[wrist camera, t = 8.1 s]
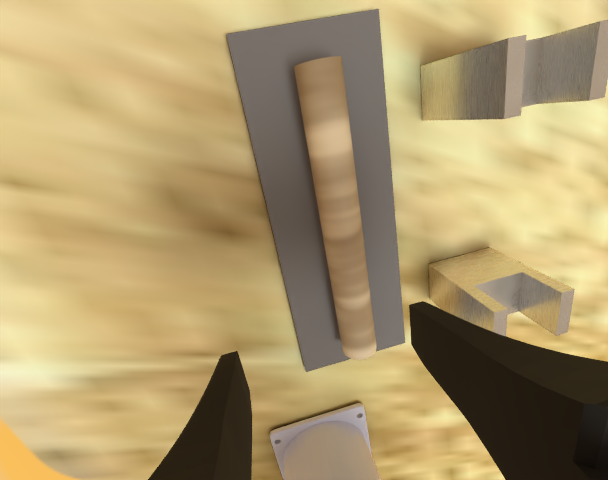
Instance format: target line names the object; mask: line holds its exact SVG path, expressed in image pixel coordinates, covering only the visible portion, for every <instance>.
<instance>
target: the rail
mask: <svg viewBox="0 0 608 480" xmlns="http://www.w3.org/2000/svg"><path fill="white" fill-rule="evenodd" d="M294 71H295V76H296V82H297V88H298V94H299V100H300V106H301V111H302V117H303V123H304V129H305V135H306V140H307V146H308V152H309V158H310V164H311V170H312V175H313V181H314V187H315V193H316V199H317V204H318V210H319V216H320V222H321V228H322V234H323V239H324V245H325V251H326V257H327V263H328V268H329V274H330V280H331V286H332V292H333V298H334V303H335V309H336V315H337V321H338V327H339V333H340V338H341V344H342V350H343V353H344V354H345V355H346V356H347V357H349V358H351V359H355V360H362V359H366V358H369V357H371V356H372V355H373V354H374V353H375V351H376V348H377V346H376V338H375V330H374V321H373V313H372V305H371V296H370V288H369V280H368V272H367V263H366V255H365V247H364V238H363V230H362V222H361V214H360V205H359V197H358V189H357V180H356V172H355V164H354V156H353V147H352V139H351V131H350V122H349V114H348V106H347V98H346V89H345V81H344V73H343V64H342V57H341V56H334V57H326V58H320V59H316V60H311V61H308V62H304V63H301V64H298V65H296V66H295V67H294Z"/></svg>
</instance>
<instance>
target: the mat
mask: <svg viewBox="0 0 608 480" xmlns="http://www.w3.org/2000/svg"><path fill="white" fill-rule="evenodd" d="M226 35H227V40H228V44H229V48H230V53H231V57H232V61H233V65H234V70H235V74H236V78H237V82H238V87H239V91H240V95H241V99H242V104H243V108H244V112H245V116H246V121H247V125H248V129H249V133H250V138H251V142H252V146H253V150H254V154H255V159H256V163H257V167H258V171H259V176H260V180H261V184H262V188H263V193H264V197H265V201H266V205H267V210H268V214H269V218H270V222H271V227H272V231H273V235H274V239H275V244H276V248H277V252H278V256H279V260H280V265H281V269H282V273H283V277H284V282H285V286H286V290H287V294H288V299H289V303H290V307H291V311H292V316H293V320H294V324H295V328H296V333H297V337H298V341H299V345H300V350H301V354H302V358H303V362H304V367H305V370H306V372H308V371H311V370H315V369H318V368H321V367H325V366H328V365H331V364H335V363H338V362H342V361H345V360H348V359H351V358H349V357H347V356H346V355H345V354H344V353H343V350H342V344H341V338H340V333H339V327H338V321H337V315H336V309H335V303H334V298H333V292H332V286H331V280H330V274H329V268H328V263H327V257H326V251H325V245H324V239H323V234H322V228H321V222H320V216H319V210H318V204H317V199H316V193H315V187H314V181H313V175H312V170H311V164H310V158H309V152H308V146H307V140H306V135H305V129H304V123H303V117H302V111H301V106H300V100H299V94H298V88H297V82H296V76H295V71H294V67H295V66H296V65H298V64H301V63H304V62H308V61H311V60H316V59H320V58H326V57H334V56H341V57H342V64H343V73H344V81H345V89H346V98H347V106H348V114H349V122H350V131H351V139H352V147H353V156H354V164H355V172H356V180H357V189H358V197H359V205H360V214H361V222H362V230H363V238H364V247H365V255H366V263H367V272H368V280H369V288H370V296H371V305H372V313H373V321H374V330H375V338H376V346H377V348H376V351H379V350H382V349H386V348H389V347H392V346H396V345H399V344H402V343H405V335H404V322H403V310H402V297H401V285H400V272H399V259H398V247H397V234H396V222H395V209H394V196H393V184H392V171H391V159H390V146H389V134H388V121H387V108H386V96H385V83H384V71H383V58H382V45H381V33H380V20H379V9H375V10H369V11H363V12H357V13H351V14H344V15H338V16H332V17H326V18H320V19H314V20H308V21H302V22H296V23H290V24H284V25H278V26H272V27H266V28H260V29H254V30H247V31H241V32H235V33H229V34H226Z"/></svg>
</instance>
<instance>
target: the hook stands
mask: <svg viewBox="0 0 608 480" xmlns="http://www.w3.org/2000/svg"><path fill="white" fill-rule="evenodd" d="M420 70H421V95H422V119H423V120H474V119H506V118H511V117H515V116H520V115H521V107H525V106H529V105H534V104H544V103H559V102H574V101H589V100H594V99H598V98H603V97H605V92H606V85H607V79H608V20H604V21H599V22H596V23H592V24H589V25H585V26H582V27H578V28H575V29H571V30H568V31H564V32H561V33H557V34H554V35H550V36H546V37H543V38H538V39H533V40H528V41H526V35H523V36H518V37H513V38H508V39H505V40H501V41H498V42H495V43H492V44H489V45H486V46H482V47H479V48H476V49H473V50H470V51H467V52H463V53H460V54H457V55H454V56H451V57H448V58H444V59H441V60H438V61H435V62H432V63H429V64H426V65H422V66H420ZM428 267H429V292H430V299H431V300H432V301H433V302H434V303H435V304H436V305H437V306H438V307H440V308H441V309H442V310H444V311H446V312H448V313H450V314H452V315H454V316H457V317H459V318H461V319H463V320H466V321H468V322H470V323H472V324H475V325H477V326H480V327H482V328H484V329H487V330H490V331H492V332H495V333H497V334H500V335H503V336H506V326H507V314H511V313H514V312H518V311H519V312H521V313H522V314H524V315H525V316H527V317H528V318H530V319H531V320H533V321H534V322H536V323H537V324H539V325H540V326H542V327H543V328H545V329H546V330H548V331H549V332H551V333H552V334H554V335H555V336H557V335H560V334H563V333H567V332H568V327H569V320H570V314H571V308H572V301H573V295H574V289H573V288H571V287H569V286H567V285H565V284H563V283H561V282H559V281H557V280H555V279H553V278H551V277H549V276H547V275H544V274H542V273H540V272H538V271H536V270H534V269H532V268H530V267H528V266H526V265H524V264H522V263H520V262H518V261H516V260H514V259H512V258H510V257H508V256H506V255H504V254H502V253H500V252H498V251H496V250H494V249H492V248H487V249H483V250H479V251H475V252H472V253H468V254H464V255H460V256H457V257H453V258H449V259H445V260H442V261H438V262H434V263H431V264H428Z"/></svg>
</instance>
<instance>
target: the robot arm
mask: <svg viewBox="0 0 608 480" xmlns="http://www.w3.org/2000/svg"><path fill="white" fill-rule="evenodd" d="M409 309H410V326H411V344H412V346H413V348H414V349H415V351H416V353H417V355H418V356H419V358H420V359H421V361H422V363H423V364H424V366H425V367H426V368H427V370H428V371H429V372H430V374H431V375H432V376H433V377H434V379H435V380H436V381H437V382H438V384H439V385H440V386H441V387H442V389H443V390H444V391H445V392H446V394H447V395H448V396H449V397H450V399H451V400H452V401H453V402H454V404H455V405H456V406H457V407H458V409H459V410H460V411H461V412H462V414H463V415H464V416H465V418H466V419H467V420H468V422H469V423H470V425H471V426H472V428H473V429H474V431H475V432H476V434H477V435H478V437H479V438H480V440H481V441H482V443H483V444H484V446H485V447H486V449H487V451H488V452H489V454H490V455H491V457H492V458H493V460H494V462H495V463H496V465H497V466H498V468H499V470H500V471H501V473H502V474H503V476H504V478H505V479H506V480H608V362H606V361H600V360H595V359H589V358H584V357H579V356H574V355H570V354H565V353H561V352H557V351H553V350H549V349H545V348H541V347H537V346H534V345H530V344H527V343H524V342H521V341H518V340H515V339H511V338H508V337H506V336H503V335H500V334H497V333H495V332H492V331H490V330H487V329H484V328H482V327H480V326H477V325H475V324H472V323H470V322H468V321H466V320H463V319H461V318H459V317H457V316H454V315H452V314H450V313H448V312H446V311H444V310H441V309H439V308H437V307H435V306H433V305H431V304H428V303H426V302H423V301H422V302H418V303H415V304H411V305H409ZM270 440H271V443H272V447H273V450H274V453H275V456H276V459H277V462H278V465H279V468H280V471H281V474H282V477H283V480H381V477H380V475H379V472H378V470H377V467H376V465H375V462H374V460H373V457H372V454H371V447H370V441H369V434H368V428H367V421H366V415H365V409H364V406H363V405H362V404H361V403H357V404H354V405H351V406H347V407H344V408H341V409H338V410H335V411H331V412H328V413H325V414H322V415H319V416H315V417H312V418H309V419H306V420H303V421H300V422H296V423H293V424H290V425H287V426H284V427H280V428H277V429H274V430H272V431H271V432H270ZM251 466H252V410H251V400H250V390H249V387H248V384H247V381H246V377H245V374H244V371H243V368H242V364H241V361H240V358H239V355H238V351H236V352H232V353H228V354H225V355H222V356H221V357H220V359H219V361H218V364H217V366H216V368H215V371H214V373H213V375H212V377H211V380H210V382H209V384H208V386H207V388H206V390H205V392H204V394H203V396H202V398H201V400H200V402H199V404H198V406H197V407H196V409H195V411H194V413H193V414H192V416H191V418H190V420H189V422H188V423H187V425H186V427H185V428H184V430H183V431H182V433H181V435H180V436H179V438H178V439H177V441H176V442H175V444H174V445H173V447H172V448H171V450H170V451H169V453H168V454H167V455H166V457H165V458H164V459H163V461H162V462H161V463H160V465H159V466H158V467H157V469H156V470H155V471H154V473H153V474H152V475H151V477H150V478H149V479H148V480H251Z"/></svg>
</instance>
